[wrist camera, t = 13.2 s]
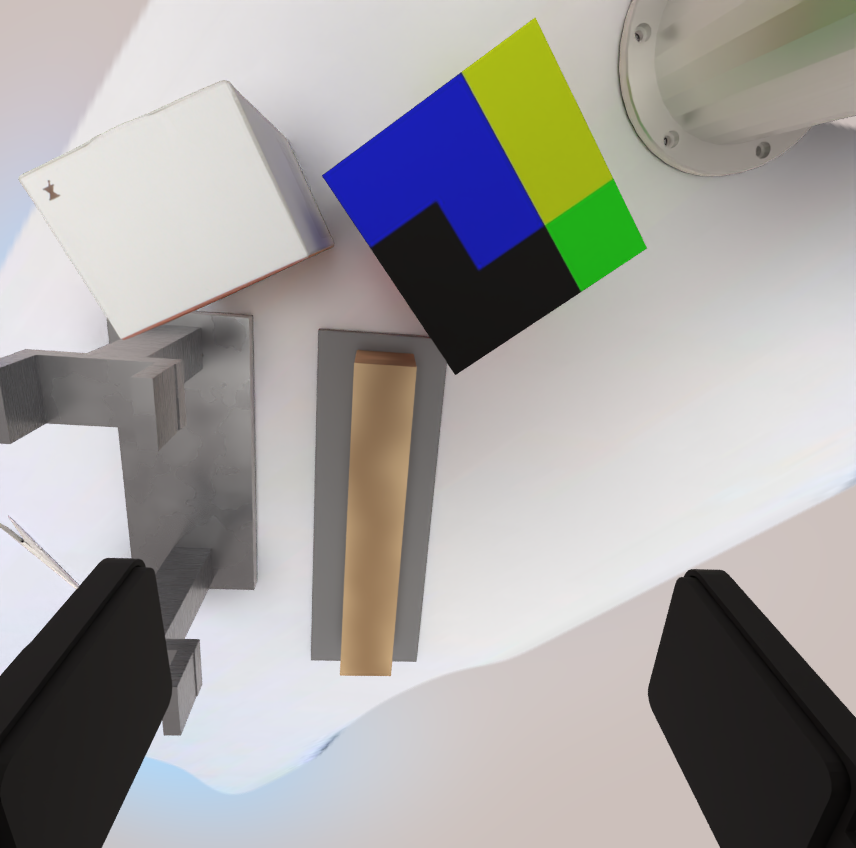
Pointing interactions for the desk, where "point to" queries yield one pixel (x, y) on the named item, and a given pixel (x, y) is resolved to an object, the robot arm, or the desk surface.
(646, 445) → the desk surface
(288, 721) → the desk surface
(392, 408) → the rail
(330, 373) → the mat
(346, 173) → the puzzle toy
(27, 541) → the silver long thin piece
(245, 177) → the small box
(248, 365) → the rack
